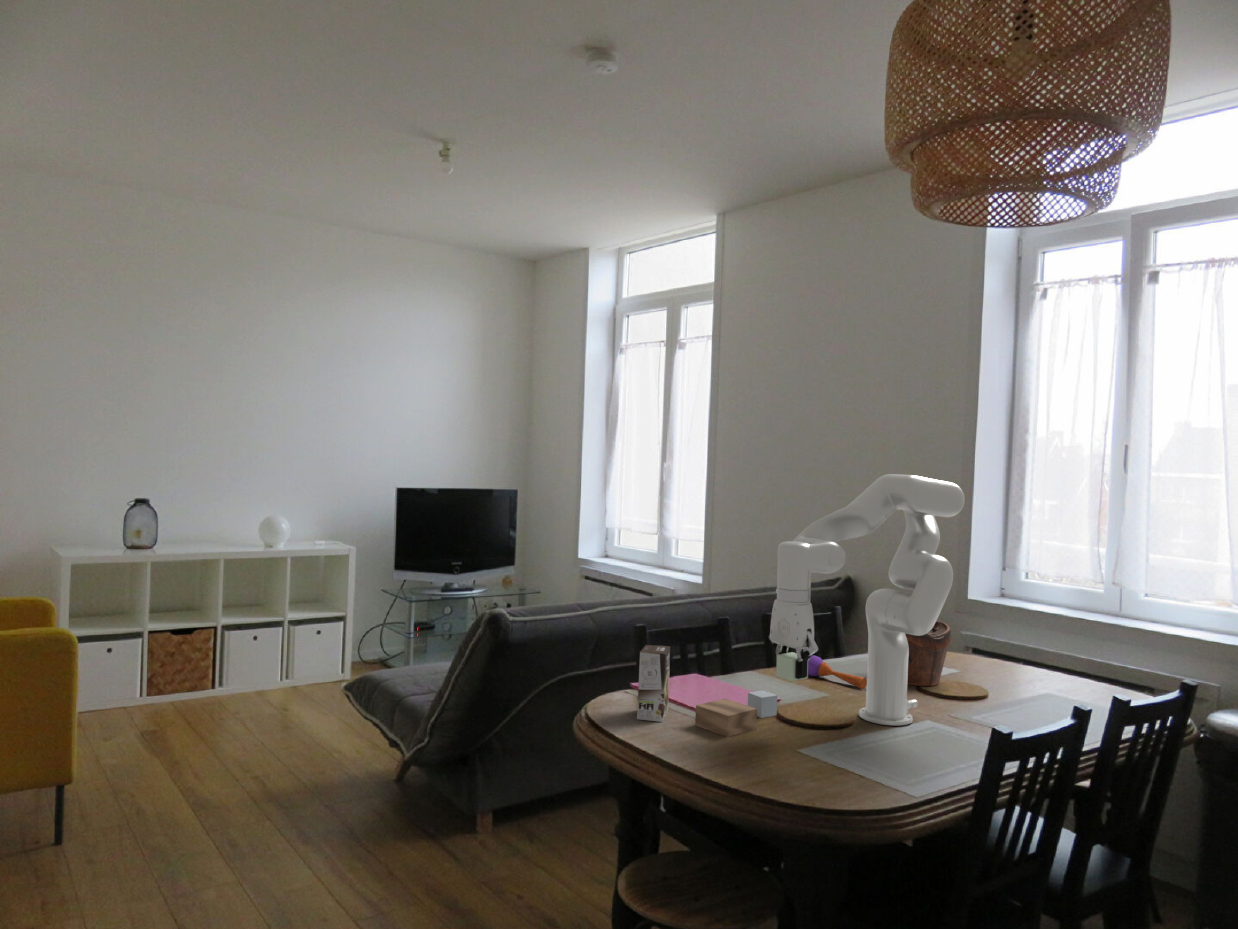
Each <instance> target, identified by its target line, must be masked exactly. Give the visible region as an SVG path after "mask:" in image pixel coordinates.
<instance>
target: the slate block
mask: <svg viewBox="0 0 1238 929" xmlns="http://www.w3.org/2000/svg"><path fill="white" fill-rule="evenodd" d="M747 706H750V707H753V708H757V718H760V719H764V718H769V717H775V716H777V714H778V712H777V711H778V710H777V708H778V695H777V694H775V693H772V692H769V691H767V690H763V689H762V690H756V691H750V692H747Z"/></svg>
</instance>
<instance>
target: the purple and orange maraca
mask: <svg viewBox="0 0 1238 929" xmlns="http://www.w3.org/2000/svg"><path fill="white" fill-rule="evenodd" d="M808 676H810V677H821V678H822V677H828V676H834V677H836V678H839V680H842V681H845V682H846V683H848V684H850V685H853V686H854V687H856V688H858V689H860V690H863V689H866V688H867V677H863V676H858V675H854V674H849V673H845V672H839V671H835V670H833V669H832V668H831V666H829V664H828V663H827V662H825V661H823V659H822V658H821V657H819V656H817V655H814V654H813V655H812V656H811V657H810V660H808Z"/></svg>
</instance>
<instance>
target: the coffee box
mask: <svg viewBox="0 0 1238 929" xmlns="http://www.w3.org/2000/svg"><path fill="white" fill-rule="evenodd" d="M638 662H639V665H638V686H637V687H638V689H637V712H636V714H637V715H636V719H637V720H638V721H639V720H640V721H650V722H651V721H652V722H660V723H663V721H664V720H665V718H666V715H667V714H668V712H669V696H670V694H669V692H670V663H671V646H669V645H649V644H645V645H644V646H643V648H642V649H641V650H640V651H639V661H638Z"/></svg>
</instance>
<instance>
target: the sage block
mask: <svg viewBox="0 0 1238 929" xmlns="http://www.w3.org/2000/svg"><path fill="white" fill-rule="evenodd" d="M796 661H798V659H797V653H796V652H793V651H791V652H788V653H784V654H778V655H776V668H775V669H776V675H775V676H776V677H777V678H781V679H783V680H786V681H789V682H796V681H802V680H806V679H809V675H808V660H807V677H805V678H800V679H797V678H796V677H795V673H796Z"/></svg>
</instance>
